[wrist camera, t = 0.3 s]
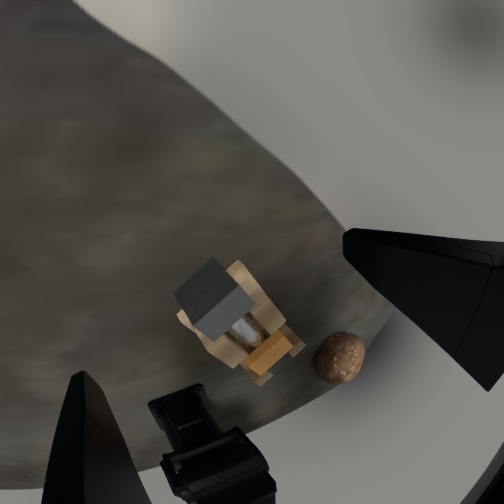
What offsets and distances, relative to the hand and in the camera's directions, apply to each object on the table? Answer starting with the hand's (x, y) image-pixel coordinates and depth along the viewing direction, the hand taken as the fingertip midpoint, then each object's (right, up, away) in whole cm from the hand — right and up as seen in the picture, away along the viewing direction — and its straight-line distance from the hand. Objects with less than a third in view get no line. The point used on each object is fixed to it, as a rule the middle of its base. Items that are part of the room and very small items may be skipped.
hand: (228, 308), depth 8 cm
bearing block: (-1, -4, +20) cm, 20 cm away
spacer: (+1, -6, +19) cm, 20 cm away
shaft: (-1, -4, +17) cm, 17 cm away
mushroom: (+12, -13, +33) cm, 38 cm away
